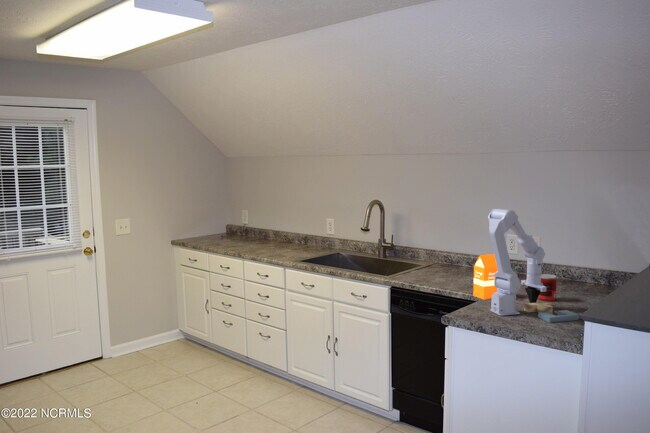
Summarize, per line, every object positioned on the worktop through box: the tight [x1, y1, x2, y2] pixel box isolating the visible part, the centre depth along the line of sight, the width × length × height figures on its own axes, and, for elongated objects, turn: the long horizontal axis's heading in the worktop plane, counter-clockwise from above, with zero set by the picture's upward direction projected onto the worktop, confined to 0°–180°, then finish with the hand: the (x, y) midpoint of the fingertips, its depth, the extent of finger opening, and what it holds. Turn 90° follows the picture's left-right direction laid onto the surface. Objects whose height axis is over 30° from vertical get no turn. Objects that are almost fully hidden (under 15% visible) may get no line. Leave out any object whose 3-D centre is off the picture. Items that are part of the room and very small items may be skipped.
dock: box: [537, 309, 580, 323], centre depth 215 cm, size 13×7×2 cm, turn 104°
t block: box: [523, 301, 554, 314], centre depth 225 cm, size 12×8×3 cm, turn 104°
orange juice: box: [473, 253, 498, 300], centre depth 250 cm, size 8×9×20 cm
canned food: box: [537, 273, 557, 302], centre depth 245 cm, size 8×8×11 cm
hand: (532, 304), depth 231 cm, fingers closed
